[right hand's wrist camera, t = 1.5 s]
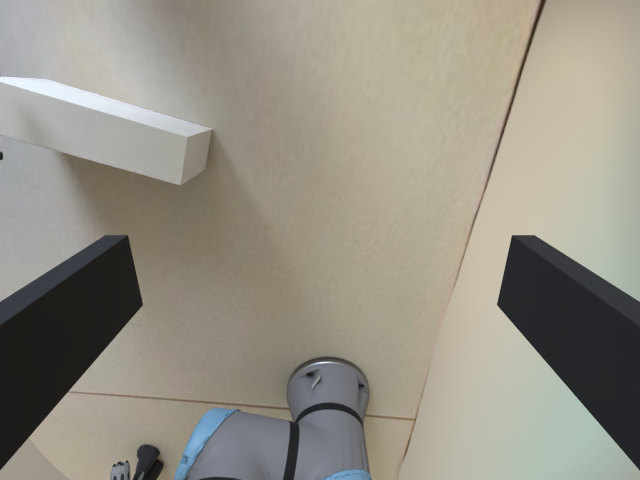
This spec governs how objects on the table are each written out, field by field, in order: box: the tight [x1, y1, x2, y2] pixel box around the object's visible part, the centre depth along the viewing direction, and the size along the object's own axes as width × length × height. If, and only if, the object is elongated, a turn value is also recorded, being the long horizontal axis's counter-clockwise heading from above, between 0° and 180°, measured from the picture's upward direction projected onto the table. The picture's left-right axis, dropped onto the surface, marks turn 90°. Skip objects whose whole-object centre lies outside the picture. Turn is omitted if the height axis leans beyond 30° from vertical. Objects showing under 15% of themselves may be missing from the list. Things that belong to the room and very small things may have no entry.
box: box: [0, 77, 212, 185], centre depth 44 cm, size 22×6×10 cm, turn 74°
